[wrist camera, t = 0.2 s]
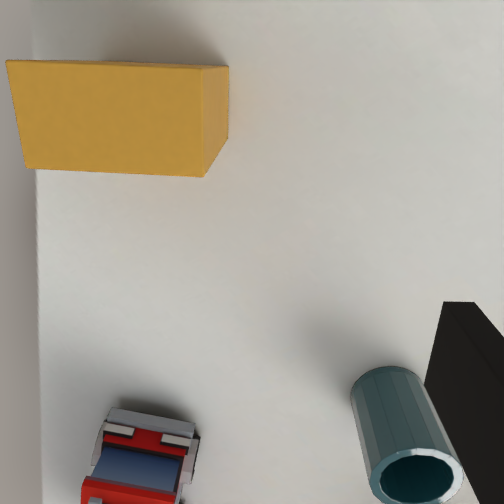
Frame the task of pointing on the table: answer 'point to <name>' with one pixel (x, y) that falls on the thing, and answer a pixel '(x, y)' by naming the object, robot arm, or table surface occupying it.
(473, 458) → the robot arm
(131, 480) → the toy fire truck
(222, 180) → the table surface
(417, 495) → the coffee cup
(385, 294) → the table surface
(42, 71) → the block
